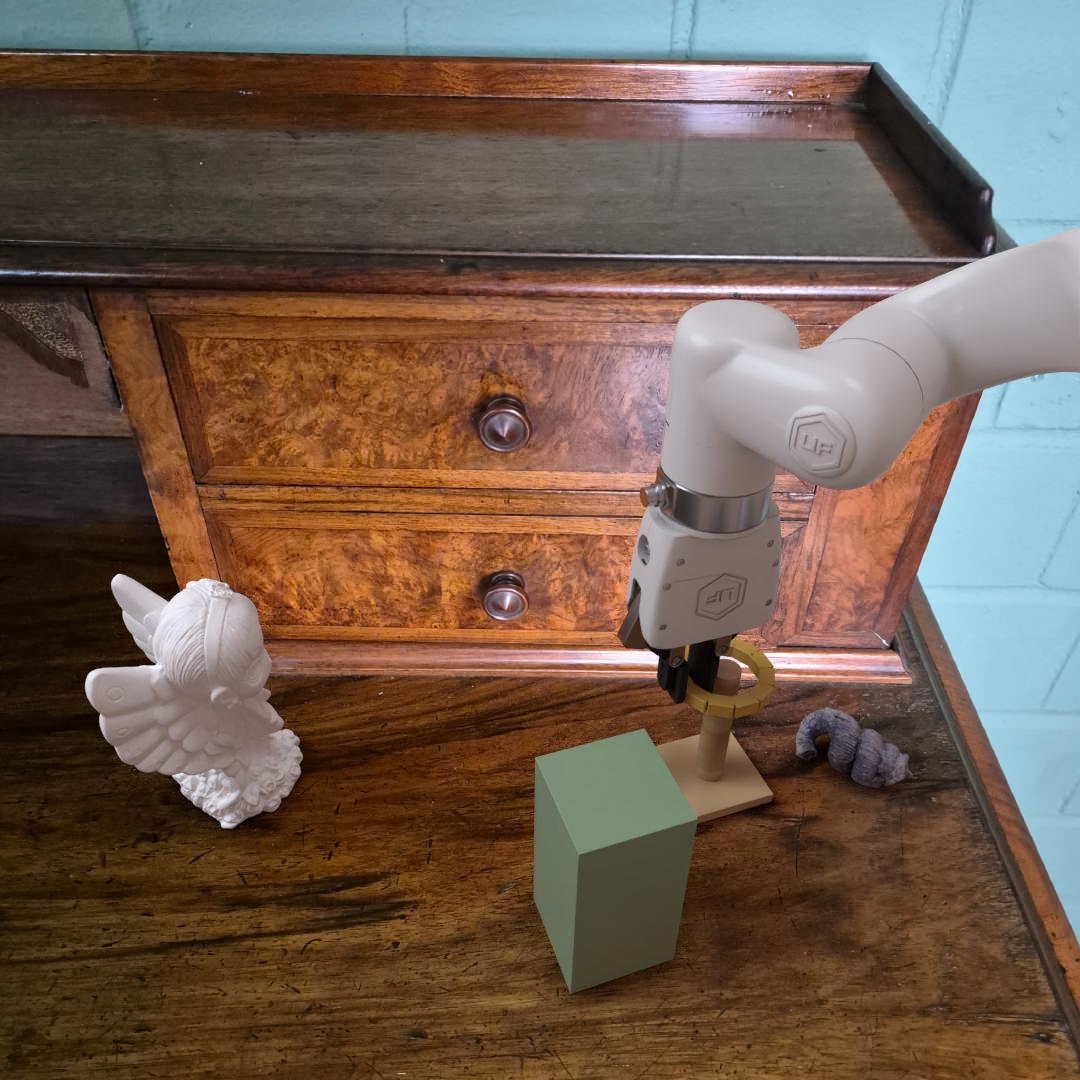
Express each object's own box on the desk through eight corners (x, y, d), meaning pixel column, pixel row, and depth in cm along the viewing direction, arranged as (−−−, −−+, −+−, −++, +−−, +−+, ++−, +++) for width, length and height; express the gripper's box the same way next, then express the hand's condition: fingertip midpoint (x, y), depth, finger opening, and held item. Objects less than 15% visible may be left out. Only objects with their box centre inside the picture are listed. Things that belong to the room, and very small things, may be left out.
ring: (792, 703, 73) (794, 692, 72) (698, 728, 71) (700, 717, 70) (741, 637, 79) (743, 626, 78) (653, 657, 77) (655, 647, 76)
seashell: (789, 755, 86) (900, 805, 82) (785, 748, 81) (903, 801, 77) (812, 701, 87) (922, 748, 83) (809, 691, 82) (927, 740, 78)
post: (771, 801, 80) (798, 691, 72) (686, 827, 78) (704, 716, 70) (726, 733, 86) (746, 625, 78) (645, 756, 84) (658, 647, 76)
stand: (674, 959, 69) (698, 819, 59) (570, 994, 66) (578, 854, 57) (629, 868, 75) (644, 727, 65) (533, 897, 72) (534, 757, 63)
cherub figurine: (299, 836, 77) (258, 654, 65) (138, 855, 75) (66, 672, 63) (305, 717, 87) (271, 541, 75) (164, 732, 85) (107, 555, 74)
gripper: (628, 544, 58) (610, 747, 69) (847, 499, 62) (798, 697, 73) (583, 481, 64) (573, 678, 75) (787, 443, 68) (749, 635, 79)
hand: (685, 686), depth 74 cm, fingers closed on ring, 1 cm apart
